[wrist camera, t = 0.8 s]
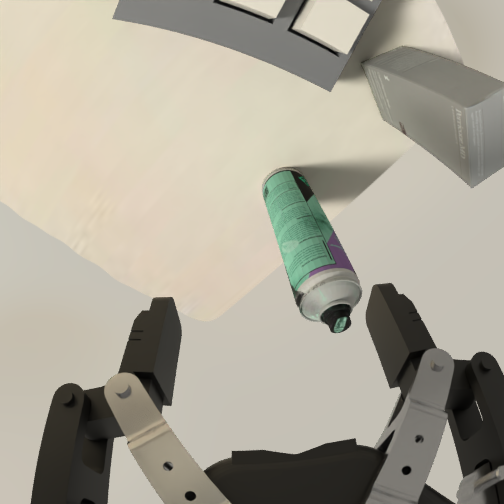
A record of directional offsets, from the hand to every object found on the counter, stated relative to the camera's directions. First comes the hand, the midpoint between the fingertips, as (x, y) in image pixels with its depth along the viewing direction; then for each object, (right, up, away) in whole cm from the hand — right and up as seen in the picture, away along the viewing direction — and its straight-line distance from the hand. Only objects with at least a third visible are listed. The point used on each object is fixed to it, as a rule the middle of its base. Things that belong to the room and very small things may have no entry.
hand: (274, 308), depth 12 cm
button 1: (+5, +22, +8) cm, 24 cm away
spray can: (+3, +10, +25) cm, 27 cm away
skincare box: (+16, +22, +16) cm, 31 cm away
